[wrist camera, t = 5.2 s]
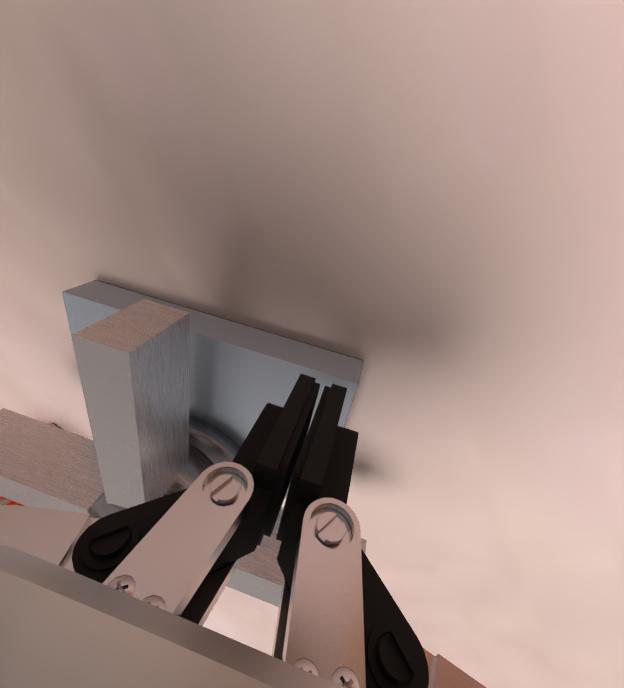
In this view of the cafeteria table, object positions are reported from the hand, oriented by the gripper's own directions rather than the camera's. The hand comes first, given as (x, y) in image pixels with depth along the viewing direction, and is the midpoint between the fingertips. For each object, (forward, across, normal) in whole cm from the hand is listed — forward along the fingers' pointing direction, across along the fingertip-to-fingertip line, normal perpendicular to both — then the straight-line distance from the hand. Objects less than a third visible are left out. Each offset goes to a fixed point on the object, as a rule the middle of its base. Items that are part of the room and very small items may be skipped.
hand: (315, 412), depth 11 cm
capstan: (+3, +6, +8) cm, 10 cm away
